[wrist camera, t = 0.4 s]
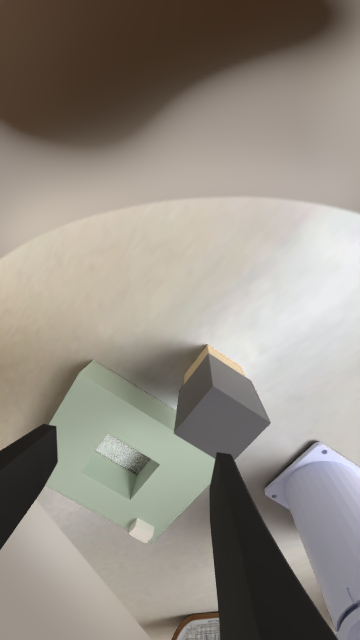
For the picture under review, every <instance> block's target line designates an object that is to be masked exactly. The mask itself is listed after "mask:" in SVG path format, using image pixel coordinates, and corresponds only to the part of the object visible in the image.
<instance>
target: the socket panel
mask: <svg viewBox="0 0 360 640" xmlns="http://www.w3.org/2000/svg"><path fill="white" fill-rule="evenodd" d="M176 412H177V411H175V410H173V409H172V408H170V407H169V406H167V405H165V404H164V403H162V402H161V401H159V400H157V399H156V398H154V397H152V396H151V395H149V394H148V393H146V392H144V391H143V390H141V389H140V388H138V387H136V386H135V385H133V384H131V383H130V382H128V381H127V380H125V379H123V378H122V377H120V376H119V375H117V374H115V373H114V372H112V371H110V370H109V369H107V368H106V367H104V366H102V365H101V364H99V363H97V362H96V361H94V360H93V361H92V362H90V363H89V364H88V365H87V366H86V367H85V368H84V369H83V370H82V371H81V372H80V373H79V374H78V376H77V377H76V379H75V381H74V382H73V384H72V386H71V388H70V389H69V391H68V393H67V394H66V396H65V398H64V399H63V401H62V403H61V405H60V406H59V408H58V410H57V411H56V413H55V415H54V416H53V418H52V420H51V421H50V423H49V425H53V426H56V428H57V452H58V463H57V465H56V467H55V468H54V470H53V472H52V474H51V476H50V478H49V479H48V481H47V483H46V484H45V485H46V486H48V487H49V488H51V489H53V490H55V491H57V492H58V493H60V494H62V495H64V496H66V497H68V498H69V499H71V500H73V501H75V502H77V503H78V504H80V505H82V506H84V507H86V508H88V509H89V510H91V511H93V512H95V513H97V514H98V515H100V516H102V517H104V518H106V519H108V520H109V521H111V522H113V523H115V524H117V525H118V526H120V527H122V528H124V529H126V530H128V531H129V533H128V534H129V535H131V536H133V537H134V538H136V539H138V540H140V541H142V542H144V543H145V544H146V543H147V542H149V543H151V544H152V543H153V542H154V541H155V540H156V539H157V538H158V537H159V536H160V534H161V533H162V532H163V531H164V530H165V529H166V528H167V527H168V526H169V525H170V524H171V523H172V522H173V521H174V520H175V519H176V518H177V517H178V516H179V515H180V514H181V513H182V512H183V511H184V510H185V509H186V508H187V507H188V506H189V505H190V504H191V503H192V502H193V501H194V500H195V499H196V498H197V497H198V496H199V495H200V494H201V493H202V491H203V490H204V489H205V488H206V487H207V486H208V485H209V484H210V483H211V479H212V473H213V468H214V463H215V459H214V458H213V457H211V456H209V455H208V454H206V453H205V452H203V451H201V450H200V449H198V448H196V447H195V446H193V445H191V444H190V443H188V442H186V441H185V440H183V439H182V438H180V437H178V436H177V435H175V434H174V427H175V419H176ZM107 434H110V435H111V436H113V437H115V438H116V439H118V440H120V441H121V442H123V443H125V444H126V445H128V446H130V447H132V448H133V449H135V450H137V451H138V452H140V453H142V454H143V455H145V456H147V457H149V458H150V460H149V461H148V463H147V464H146V465H145V466H144V467H143V469H142V470H141V471H140V472H139V473H138V475H136V474H134V473H132V472H131V471H129V470H127V469H125V468H124V467H122V466H120V465H118V464H117V463H115V462H113V461H112V460H110V459H108V458H106V457H105V456H103V455H101V454H99V453H98V452H96V449H97V448H98V446H99V445H100V444H101V442H102V441H103V439H104V438H105V436H106V435H107Z"/></svg>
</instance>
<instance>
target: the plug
mask: <svg viewBox="0 0 360 640" xmlns="http://www.w3.org/2000/svg"><path fill="white" fill-rule="evenodd" d="M270 423H271V422H270V420H269V418H268V416H267V414H266V411H265V409H264V407H263V405H262V403H261V401H260V399H259V396H258V394H257V392H256V390H255V388H254V386H253V384H252V382H251V380H249V379H248V378H246V377H245V375H244V372H243V370H242V368H241V366H240V365H238V364H237V363H235V362H234V361H232V360H231V359H229V358H228V357H226V356H225V355H223V354H222V353H220V352H219V351H217V350H216V349H214V348H212V347H211V346H209V345H208V344H207V346H206V347H205V348H204V350H203V351H202V352H201V353H200V355H199V356H198V357H197V359H196V360H195V361H194V363H193V364H192V365H191V367H190V368H189V369H188V371H187V372H186V373H185V375H184V384H183V387H182V388H181V389H180V390H179V397H178V405H177V412H176V419H175V427H174V434H175V435H177V436H178V437H180V438H182V439H183V440H185V441H186V442H188V443H190V444H191V445H193V446H195V447H196V448H198V449H200V450H201V451H203V452H205V453H206V454H208V455H209V456H211V457H213V458H214V459H215V458H216V453H217V452H220V453H226V454H231V455H232V456H233V458H234V460H235V459H236V458H237V457H238V456H239V455H240V454H241V453H242V452H243V451H244V450H245V449H246V448H247V447H248V446H249V445H250V444H251V443H252V442H253V441H254V440H255V439H256V438H257V436H258V435H259V434H260V433H261V432H262V431H263V430H264V429H265V428H266V427H267V426H268V425H269V424H270Z"/></svg>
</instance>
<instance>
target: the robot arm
mask: <svg viewBox="0 0 360 640" xmlns="http://www.w3.org/2000/svg"><path fill="white" fill-rule="evenodd" d="M57 463H58V452H57V428H56V426H53V425H47V424H43V425H41V426H39V427H38V428H36V429H34V430H33V431H31V432H30V433H28V434H26V435H25V436H23V437H22V438H20V439H18V440H17V441H15V442H14V443H12V444H10V445H9V446H7V447H6V448H4V449H2V450H1V451H0V549H1V548H2V547H3V545H4V544H5V542H6V541H7V539H8V538H9V537H10V535H11V534H12V532H13V531H14V530H15V528H16V527H17V525H18V524H19V522H20V521H21V520H22V518H23V517H24V515H25V514H26V513H27V511H28V510H29V508H30V507H31V505H32V504H33V503H34V501H35V500H36V498H37V497H38V495H39V494H40V492H41V491H42V489H43V488H44V486H45V484H46V483H47V481H48V479H49V478H50V476H51V474H52V472H53V470H54V468H55V467H56V465H57ZM264 492H265V495H266V496H267V497H269V498H270V499H272V500H274V501H275V502H277V503H279V504H280V505H282V506H284V507H285V508H287V509H289V510H290V511H291V514H292V517H293V519H294V522H295V525H296V527H297V530H298V532H299V535H300V538H301V540H302V543H303V546H304V548H305V551H306V553H307V556H308V559H309V561H310V564H311V566H312V569H313V572H314V574H315V577H316V580H317V582H318V585H319V587H320V590H321V593H322V595H323V598H324V601H325V603H326V606H327V608H328V611H329V614H330V616H331V619H332V622H333V624H334V627H335V629H336V632H337V634H334V633H333V631H332V630H331V628H330V627H329V626H328V624H327V623H326V621H325V620H324V618H323V617H322V615H321V614H320V612H319V611H318V609H317V608H316V606H315V605H314V603H313V602H312V600H311V599H310V597H309V596H308V594H307V593H306V591H305V590H304V588H303V587H302V585H301V583H300V582H299V580H298V579H297V577H296V575H295V574H294V572H293V571H292V569H291V567H290V566H289V564H288V563H287V561H286V559H285V558H284V556H283V554H282V552H281V551H280V549H279V547H278V546H277V544H276V542H275V540H274V539H273V537H272V535H271V533H270V532H269V530H268V528H267V526H266V524H265V523H264V521H263V519H262V517H261V515H260V513H259V511H258V509H257V507H256V505H255V503H254V502H253V500H252V498H251V496H250V494H249V492H248V489H247V487H246V485H245V483H244V481H243V479H242V477H241V475H240V472H239V470H238V468H237V465H236V463H235V461H234V458H233V456H232V455H231V454H226V453H220V452H217V453H216V458H215V463H214V468H213V473H212V479H211V484H210V525H211V536H212V546H213V557H214V567H215V577H216V588H217V598H218V611H219V628H220V640H360V467H358V466H357V465H355V464H354V463H352V462H351V461H349V460H348V459H346V458H344V457H343V456H341V455H340V454H338V453H337V452H335V451H334V450H332V449H331V448H329V447H327V446H326V445H324V444H323V443H321V442H316V443H314V444H313V445H312V446H311V447H310V448H309V449H308V450H306V451H305V452H304V453H303V454H302V455H301V456H300V457H299V458H298V459H297V460H296V461H294V462H293V463H292V464H291V465H290V466H289V467H288V468H287V469H286V470H285V471H283V472H282V473H281V474H280V475H279V476H278V477H277V478H276V479H275V480H274V481H273V482H271V483H270V484H269V485H268V486H267V487H266V488H265V489H264Z"/></svg>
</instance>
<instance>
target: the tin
mask: <svg viewBox="0 0 360 640" xmlns="http://www.w3.org/2000/svg"><path fill="white" fill-rule="evenodd" d="M171 640H220V628H219V612H215V613H201V614H193V615H191V616H189V617H187V618H186V619H185V620H183V621H182V623H181V624H180V625H179V626H178V628H177V629H176V631H175V633H174V635H173V637H172V639H171Z"/></svg>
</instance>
